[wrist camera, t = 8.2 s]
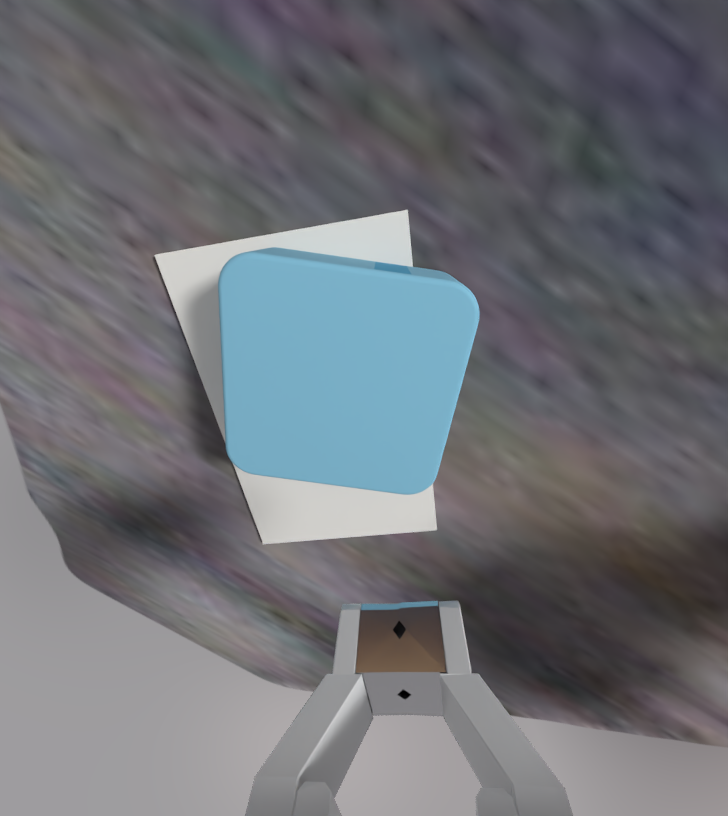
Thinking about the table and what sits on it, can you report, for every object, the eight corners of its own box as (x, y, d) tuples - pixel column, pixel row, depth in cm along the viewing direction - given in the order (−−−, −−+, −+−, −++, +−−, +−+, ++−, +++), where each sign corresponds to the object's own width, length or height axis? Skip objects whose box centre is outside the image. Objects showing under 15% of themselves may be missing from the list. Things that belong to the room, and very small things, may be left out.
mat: (407, 210, 19) (407, 209, 19) (436, 527, 28) (436, 530, 28) (157, 254, 20) (154, 254, 20) (264, 541, 30) (263, 544, 30)
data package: (468, 274, 20) (248, 242, 20) (489, 286, 16) (214, 247, 16) (423, 456, 25) (250, 433, 25) (431, 500, 21) (225, 472, 21)
